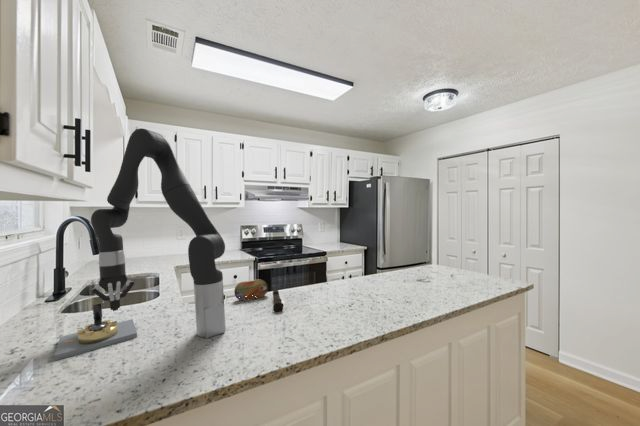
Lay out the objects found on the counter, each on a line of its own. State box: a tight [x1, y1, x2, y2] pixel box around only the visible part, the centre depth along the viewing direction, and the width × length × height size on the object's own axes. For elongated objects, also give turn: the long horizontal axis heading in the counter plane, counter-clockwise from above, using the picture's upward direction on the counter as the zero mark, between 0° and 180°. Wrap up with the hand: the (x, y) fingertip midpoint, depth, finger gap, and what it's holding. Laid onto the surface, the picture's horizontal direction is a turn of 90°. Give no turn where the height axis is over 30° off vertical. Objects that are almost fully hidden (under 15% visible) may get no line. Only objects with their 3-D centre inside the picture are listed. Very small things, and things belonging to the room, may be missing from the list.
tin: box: [233, 278, 269, 302], centre depth 126 cm, size 15×3×8 cm, turn 114°
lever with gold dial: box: [76, 302, 118, 344], centre depth 91 cm, size 15×10×8 cm, turn 39°
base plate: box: [53, 319, 138, 361], centre depth 91 cm, size 16×20×2 cm
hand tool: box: [272, 288, 284, 313], centre depth 116 cm, size 19×4×5 cm, turn 10°
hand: (115, 310), depth 100 cm, fingers closed
